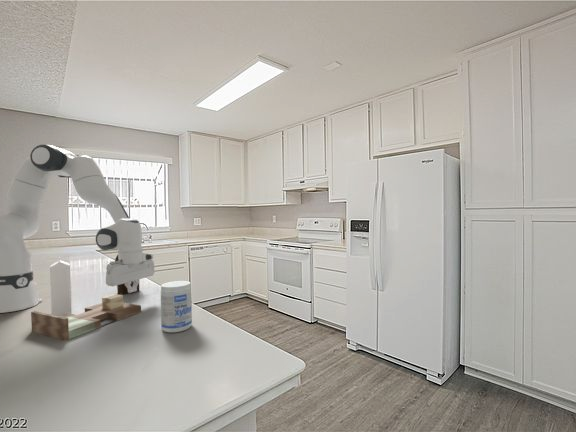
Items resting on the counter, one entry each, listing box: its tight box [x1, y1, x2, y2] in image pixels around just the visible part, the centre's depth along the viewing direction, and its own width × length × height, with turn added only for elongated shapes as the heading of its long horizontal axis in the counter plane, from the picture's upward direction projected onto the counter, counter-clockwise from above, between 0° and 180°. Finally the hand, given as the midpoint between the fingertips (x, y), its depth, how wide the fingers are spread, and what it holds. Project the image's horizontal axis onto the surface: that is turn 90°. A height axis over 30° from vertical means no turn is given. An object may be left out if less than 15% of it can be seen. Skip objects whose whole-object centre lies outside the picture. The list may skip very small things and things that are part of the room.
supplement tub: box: [160, 280, 193, 334], centre depth 99 cm, size 10×10×15 cm
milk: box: [49, 257, 73, 316], centre depth 114 cm, size 6×6×22 cm
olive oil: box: [114, 254, 140, 295], centre depth 145 cm, size 11×11×25 cm
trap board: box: [30, 302, 142, 341], centre depth 107 cm, size 18×27×6 cm, turn 156°
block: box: [101, 293, 124, 310], centre depth 114 cm, size 5×5×4 cm
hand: (132, 291), depth 122 cm, fingers closed
